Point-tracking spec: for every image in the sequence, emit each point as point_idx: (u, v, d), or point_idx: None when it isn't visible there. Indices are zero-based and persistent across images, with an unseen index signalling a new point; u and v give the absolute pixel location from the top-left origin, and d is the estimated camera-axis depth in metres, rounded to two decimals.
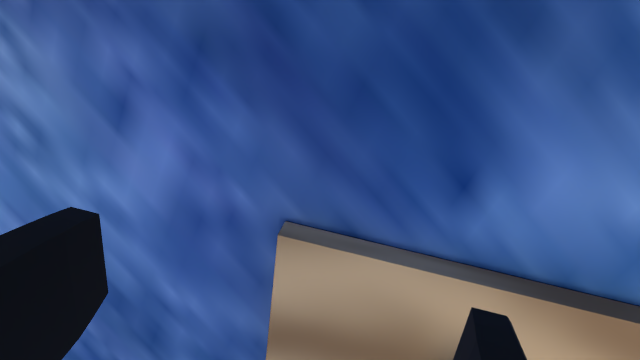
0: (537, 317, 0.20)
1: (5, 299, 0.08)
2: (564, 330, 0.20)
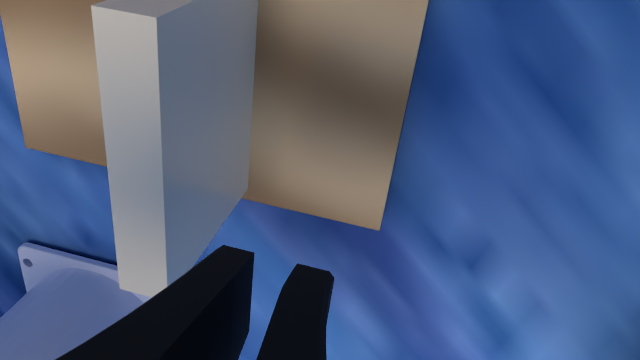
0: None
1: (192, 352, 0.08)
2: None
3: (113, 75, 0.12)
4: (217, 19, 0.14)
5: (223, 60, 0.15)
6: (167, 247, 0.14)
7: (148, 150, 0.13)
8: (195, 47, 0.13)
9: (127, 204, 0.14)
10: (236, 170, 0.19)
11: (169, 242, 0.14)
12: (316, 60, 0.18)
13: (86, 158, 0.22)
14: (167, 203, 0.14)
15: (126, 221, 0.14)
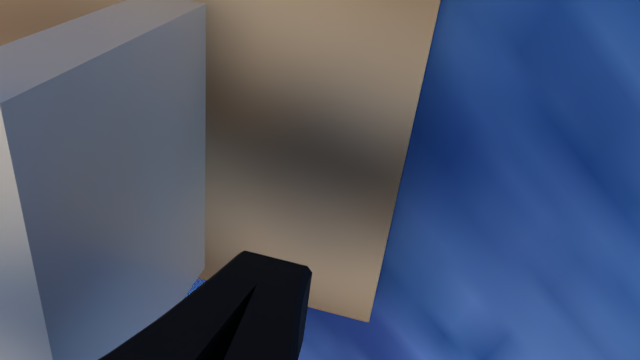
0: None
1: (218, 359, 0.08)
2: None
3: None
4: (135, 79, 0.10)
5: (150, 130, 0.11)
6: None
7: (18, 282, 0.09)
8: (92, 127, 0.09)
9: (2, 345, 0.10)
10: (184, 254, 0.15)
11: None
12: (284, 118, 0.14)
13: None
14: (58, 346, 0.10)
15: None
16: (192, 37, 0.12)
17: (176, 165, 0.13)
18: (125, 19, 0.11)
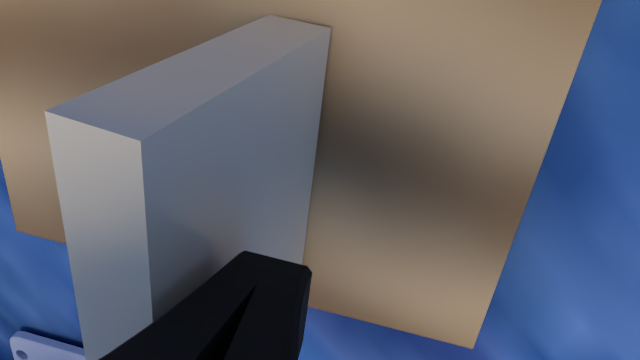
0: None
1: (218, 359, 0.08)
2: None
3: (82, 213, 0.08)
4: (260, 109, 0.10)
5: (267, 160, 0.11)
6: None
7: (134, 319, 0.08)
8: (218, 160, 0.09)
9: None
10: None
11: None
12: (405, 143, 0.13)
13: None
14: None
15: None
16: (315, 64, 0.12)
17: (286, 195, 0.12)
18: (253, 45, 0.10)
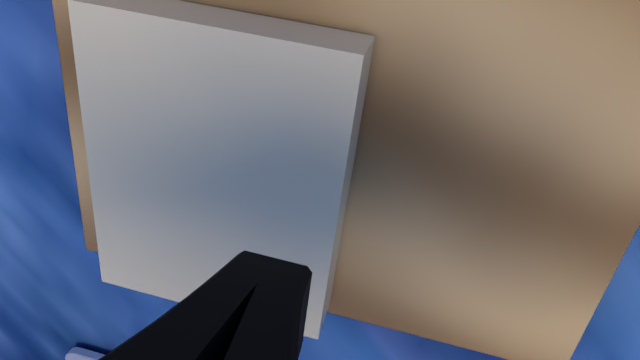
0: None
1: (218, 359, 0.08)
2: None
3: None
4: (209, 62, 0.11)
5: (227, 120, 0.12)
6: (98, 229, 0.15)
7: None
8: (148, 66, 0.12)
9: None
10: None
11: (102, 228, 0.15)
12: (513, 167, 0.13)
13: None
14: (97, 188, 0.14)
15: None
16: (324, 78, 0.11)
17: (270, 186, 0.13)
18: (266, 26, 0.12)
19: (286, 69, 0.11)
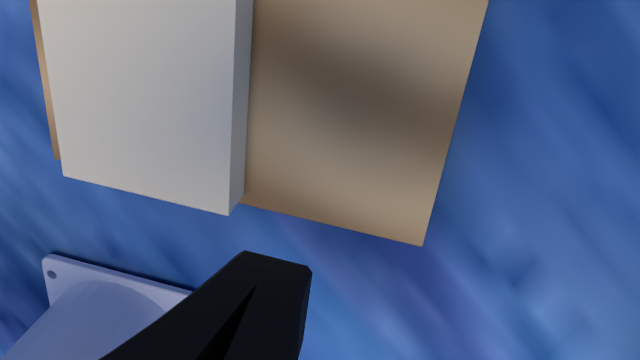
0: None
1: (218, 359, 0.08)
2: None
3: None
4: None
5: (147, 34, 0.16)
6: (58, 130, 0.19)
7: None
8: None
9: None
10: (192, 170, 0.18)
11: (61, 129, 0.19)
12: (363, 73, 0.17)
13: None
14: (56, 95, 0.18)
15: None
16: None
17: (182, 86, 0.17)
18: None
19: None
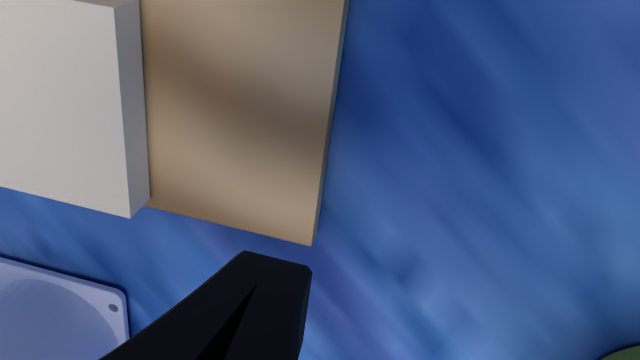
0: None
1: None
2: None
3: None
4: (25, 15, 0.18)
5: (42, 55, 0.18)
6: None
7: None
8: None
9: None
10: (95, 177, 0.20)
11: None
12: (242, 88, 0.19)
13: None
14: None
15: None
16: (94, 24, 0.17)
17: (77, 101, 0.19)
18: None
19: (71, 18, 0.17)
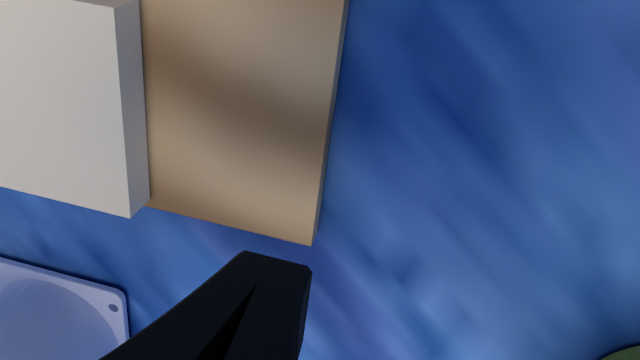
0: None
1: None
2: None
3: None
4: (25, 15, 0.18)
5: (42, 55, 0.18)
6: None
7: None
8: None
9: None
10: (95, 177, 0.20)
11: None
12: (242, 88, 0.19)
13: None
14: None
15: None
16: (94, 24, 0.17)
17: (77, 101, 0.19)
18: None
19: (71, 18, 0.17)
